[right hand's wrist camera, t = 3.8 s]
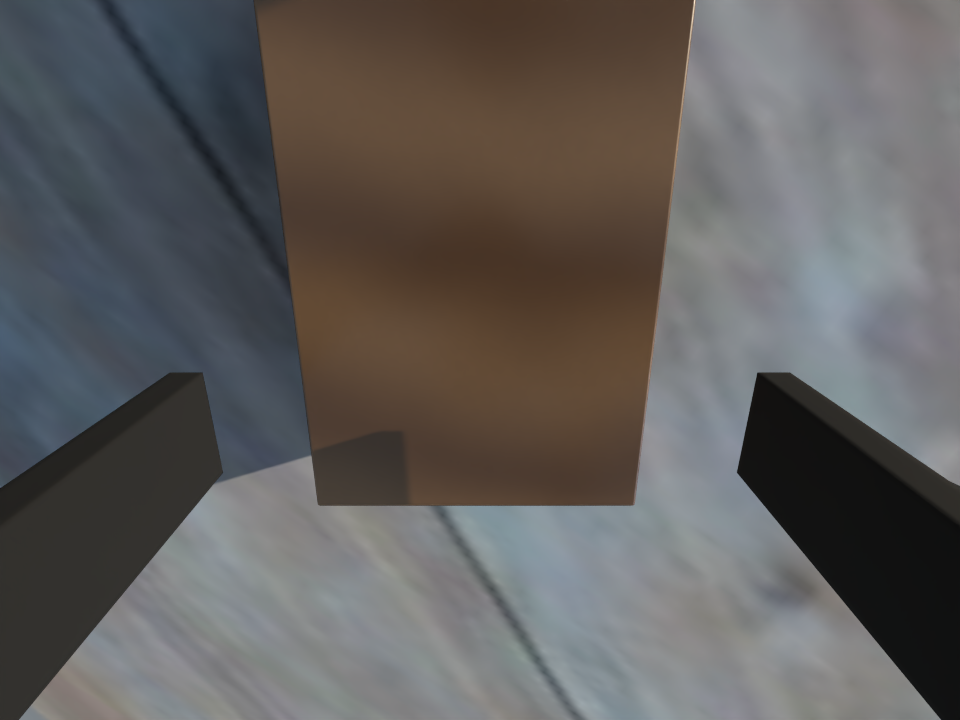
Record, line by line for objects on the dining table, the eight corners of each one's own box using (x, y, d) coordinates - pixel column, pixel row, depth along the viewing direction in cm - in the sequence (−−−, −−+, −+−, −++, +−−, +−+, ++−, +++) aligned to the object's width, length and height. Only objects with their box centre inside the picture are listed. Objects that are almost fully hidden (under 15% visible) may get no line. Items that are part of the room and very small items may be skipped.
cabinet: (350, -9, 21) (230, -173, 11) (603, -9, 21) (718, -173, 11) (378, 378, 27) (317, 506, 17) (576, 378, 27) (635, 506, 17)
